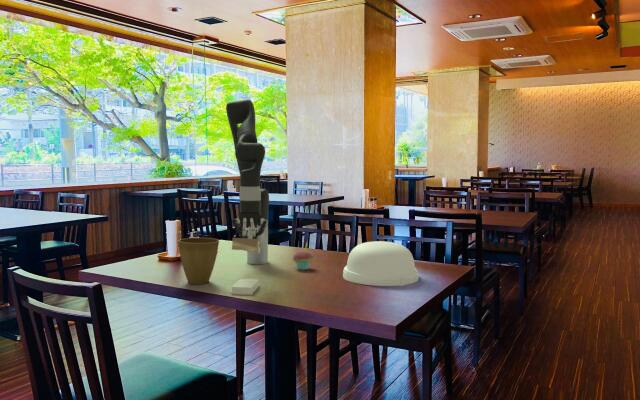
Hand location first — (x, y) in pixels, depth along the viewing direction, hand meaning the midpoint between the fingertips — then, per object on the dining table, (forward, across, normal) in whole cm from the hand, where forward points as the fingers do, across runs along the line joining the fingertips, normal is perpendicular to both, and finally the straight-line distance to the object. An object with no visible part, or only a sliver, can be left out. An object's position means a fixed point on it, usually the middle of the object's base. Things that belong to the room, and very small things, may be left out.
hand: (250, 246), depth 188 cm
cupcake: (+15, -10, -37) cm, 41 cm away
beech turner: (+2, 0, 0) cm, 2 cm away
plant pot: (+15, +21, -2) cm, 26 cm away
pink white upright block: (+14, +1, -1) cm, 14 cm away
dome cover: (+15, -44, -29) cm, 55 cm away
